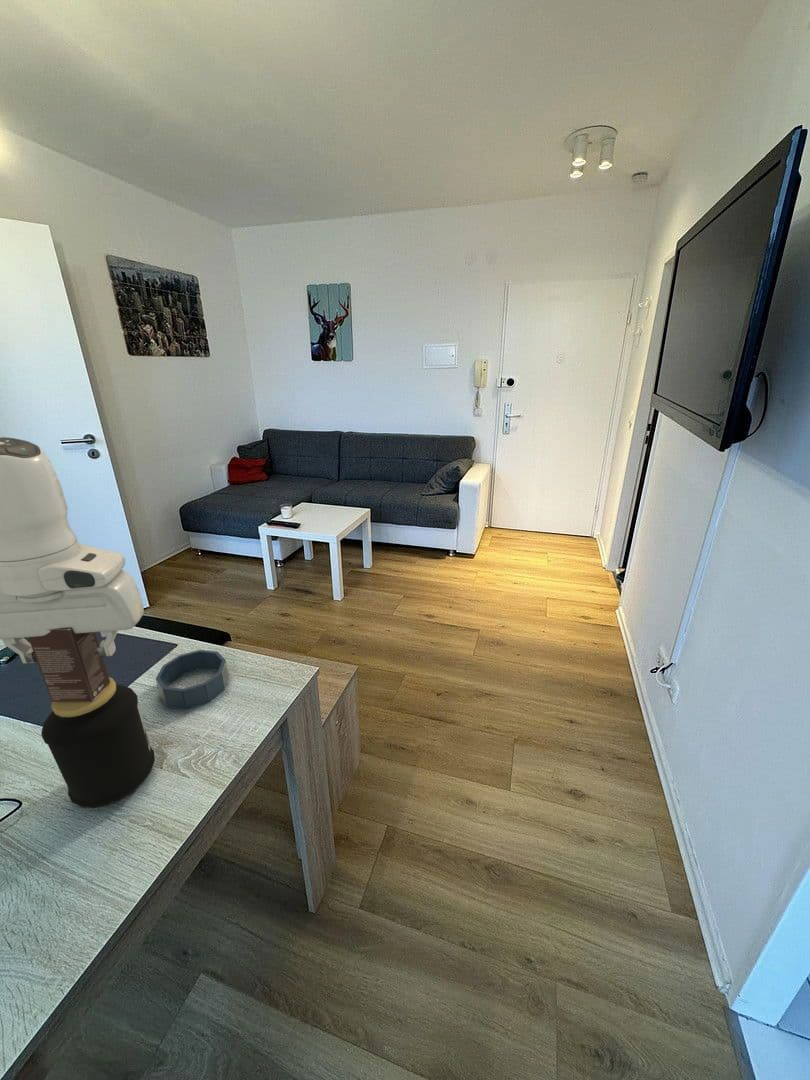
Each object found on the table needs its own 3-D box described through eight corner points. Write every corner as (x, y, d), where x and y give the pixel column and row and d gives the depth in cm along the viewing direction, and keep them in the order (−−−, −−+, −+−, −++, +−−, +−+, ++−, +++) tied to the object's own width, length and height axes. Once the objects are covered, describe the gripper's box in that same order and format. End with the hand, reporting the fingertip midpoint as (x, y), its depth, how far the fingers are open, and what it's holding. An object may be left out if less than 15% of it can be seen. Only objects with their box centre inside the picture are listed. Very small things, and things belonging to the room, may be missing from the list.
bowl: (151, 713, 83) (146, 694, 81) (173, 669, 95) (169, 652, 93) (219, 705, 85) (216, 687, 83) (232, 663, 97) (230, 647, 95)
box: (112, 681, 65) (91, 612, 60) (92, 703, 61) (68, 630, 56) (71, 681, 65) (47, 612, 60) (49, 703, 60) (21, 630, 56)
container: (65, 776, 70) (30, 688, 63) (148, 738, 77) (125, 655, 70) (73, 834, 61) (33, 739, 55) (165, 785, 69) (140, 696, 62)
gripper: (-75, 585, 50) (-32, 679, 56) (116, 574, 54) (140, 664, 59) (-34, 562, 56) (2, 650, 61) (136, 553, 60) (156, 637, 65)
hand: (71, 657), depth 60 cm, fingers open, 8 cm apart
